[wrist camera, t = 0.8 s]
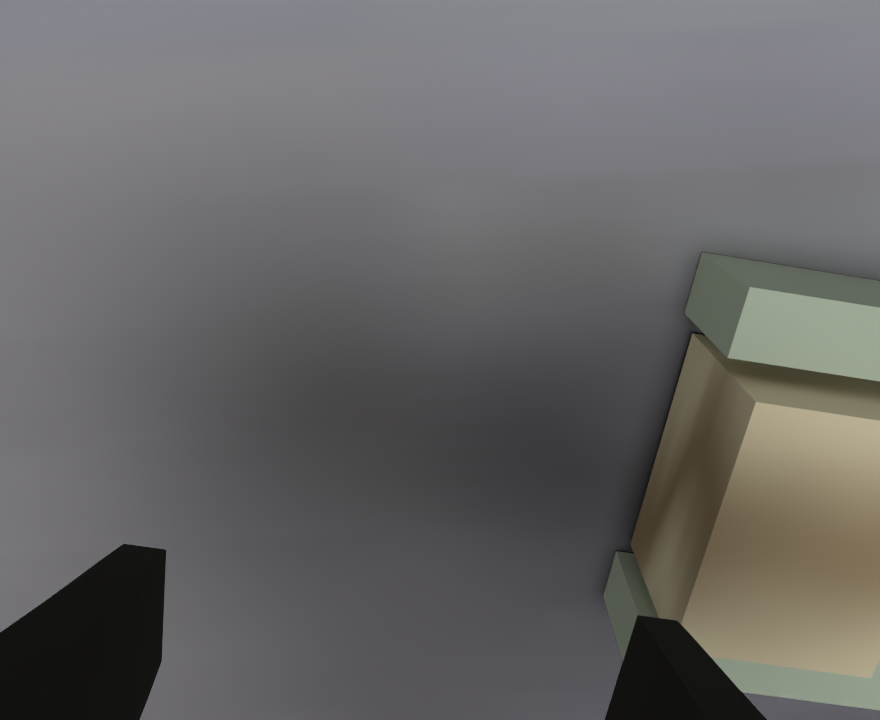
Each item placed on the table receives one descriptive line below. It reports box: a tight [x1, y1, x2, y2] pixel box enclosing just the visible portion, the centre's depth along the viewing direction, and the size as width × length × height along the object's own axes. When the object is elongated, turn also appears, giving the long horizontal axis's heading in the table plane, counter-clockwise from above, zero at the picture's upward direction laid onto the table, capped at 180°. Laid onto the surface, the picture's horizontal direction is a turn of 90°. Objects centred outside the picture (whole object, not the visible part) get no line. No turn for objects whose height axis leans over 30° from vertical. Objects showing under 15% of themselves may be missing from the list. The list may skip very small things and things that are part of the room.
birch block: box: [631, 333, 880, 678], centre depth 18 cm, size 6×4×4 cm
